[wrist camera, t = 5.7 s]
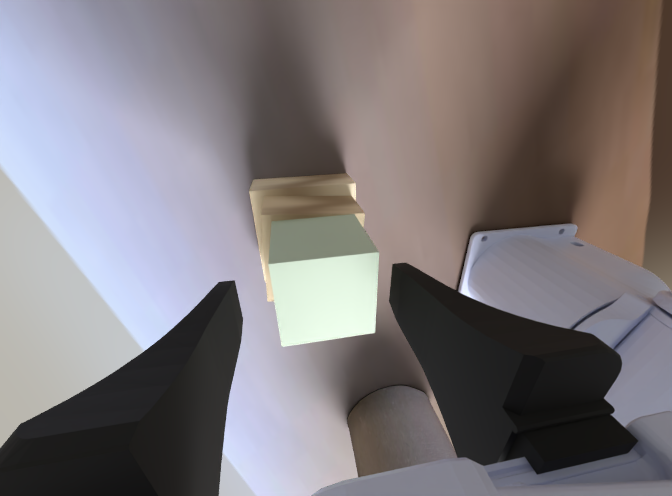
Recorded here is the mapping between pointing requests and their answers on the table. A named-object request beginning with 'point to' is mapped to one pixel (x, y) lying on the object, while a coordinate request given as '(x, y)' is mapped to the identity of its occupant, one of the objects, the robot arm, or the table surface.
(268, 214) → the beige square block
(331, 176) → the base slab
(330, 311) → the sage cube
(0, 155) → the table surface
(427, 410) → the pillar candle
